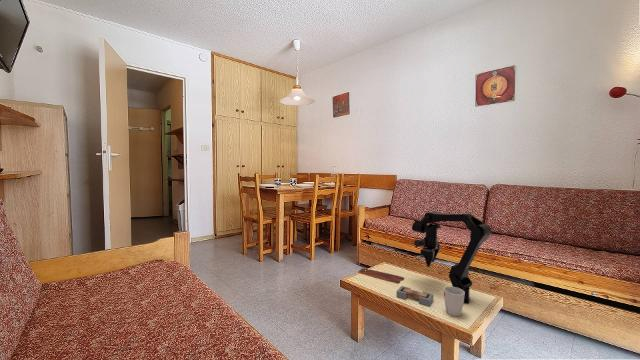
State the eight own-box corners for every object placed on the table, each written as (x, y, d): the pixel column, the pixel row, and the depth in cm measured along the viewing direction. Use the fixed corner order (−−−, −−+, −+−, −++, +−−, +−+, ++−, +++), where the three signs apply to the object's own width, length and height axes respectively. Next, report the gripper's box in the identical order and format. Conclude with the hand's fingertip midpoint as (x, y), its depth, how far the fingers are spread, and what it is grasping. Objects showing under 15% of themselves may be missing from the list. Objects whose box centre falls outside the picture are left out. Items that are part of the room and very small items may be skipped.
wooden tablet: (405, 279, 153) (405, 276, 153) (399, 285, 145) (399, 282, 145) (363, 268, 169) (363, 265, 169) (356, 273, 161) (356, 270, 161)
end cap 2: (433, 300, 127) (433, 294, 127) (429, 306, 121) (429, 300, 121) (423, 297, 130) (423, 291, 130) (418, 303, 124) (419, 297, 124)
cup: (448, 306, 122) (449, 284, 122) (467, 314, 116) (468, 291, 115) (439, 311, 117) (440, 289, 117) (458, 320, 111) (459, 296, 110)
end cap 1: (396, 296, 130) (396, 290, 130) (401, 291, 136) (401, 285, 136) (406, 299, 128) (406, 293, 128) (410, 294, 134) (410, 288, 134)
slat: (427, 301, 127) (427, 294, 127) (425, 304, 124) (426, 296, 124) (404, 294, 133) (404, 288, 133) (402, 297, 130) (402, 290, 130)
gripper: (420, 230, 154) (419, 256, 155) (410, 236, 139) (409, 266, 140) (441, 232, 148) (440, 260, 148) (433, 240, 132) (432, 270, 133)
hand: (430, 264), depth 142 cm, fingers open, 9 cm apart
